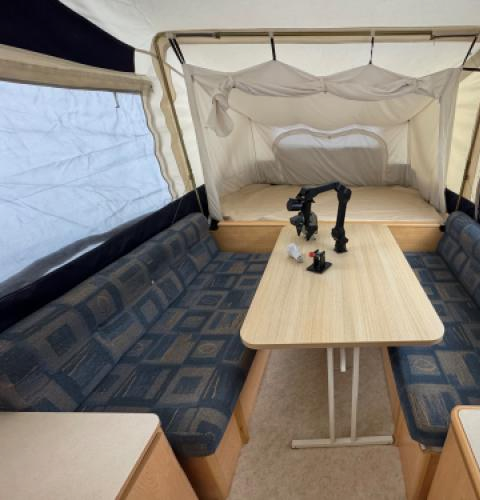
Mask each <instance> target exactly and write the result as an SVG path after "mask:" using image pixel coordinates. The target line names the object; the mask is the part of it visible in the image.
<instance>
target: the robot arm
mask: <svg viewBox="0 0 480 500" xmlns="http://www.w3.org/2000/svg"><path fill="white" fill-rule="evenodd" d="M330 191H334V192H336V199H337V201H338V204H337V210H336V211H337V212H336V219H335V225H334V227H332V228H331V233H330V235H331V238H332V239H333V241H334V248H333V250H334V251H335V252H336V253H338V254H342V253H346V252H348V250H347V244H348V243H349V240H350V239H349V238H348V237H347V236H346V229H345V219H346V213H347V208H348V207H347V206H348V203H349V201H350V200H351V198H352V194H353V193H352V190H351V189H350V188H349V187H347V186H345V185H344V184H342V183H341V182H340V181H338V180H334V179H333V180H331V181H328V182H324V183H320V184H317V185H304V186H302V187H301V188H300V190H299V192H298V193H297V194H296V196H295V197H289V198H288V200H287V202H286V204H285V205H286V210H287V211H288V212H297V214H296V215H293V216H291V217H289V218H288V220H289V223H290V225H292V226H294V227H295V230H296V234H297V237H300V236H301V233H302V232H301V231H302V228H303V225H304V226H305V231H306V235H305V236H306V238H305V241H306V242H309V241H310V239H311V238H312V237H313V236H312V235H313V233H314V232H315V231H317V230H318V231H319V225H318V226H317V225H316V224H314V223H313V224H309V223H311V221H310V216H312V213H311V211H312V205H313V204H316V201H315V200H314V198H316V197H317V196H318V195H320V194H323V193H327V192H330Z"/></svg>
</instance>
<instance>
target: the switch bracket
mask: <svg viewBox="0 0 480 500" xmlns="http://www.w3.org/2000/svg"><path fill="white" fill-rule="evenodd" d="M313 252H314V253H317V252H321V253H320V257H317V256H314V257H312V259H313V263H311V264H310V265H308V266H307V267H306V271H309V272H313V273H315V274H320V275H322V274H323V273H324V272H325V271H326V270H328V269H329V268H331V266H332V264H333V263H332V262H330V261H326V250H322V251H320V249H319V248H317V249H315V250H314V251H313Z"/></svg>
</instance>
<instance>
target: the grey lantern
mask: <svg viewBox="0 0 480 500" xmlns="http://www.w3.org/2000/svg"><path fill="white" fill-rule="evenodd" d="M311 213H312V216H310V221H311V223H309V224H313V223H314V224H316V225H317V226H318V227H319V222H318V221H319V220H318V216H317V214H316V212H314V211H313V210H311ZM318 232H319V229H318V230H317V231H315V232H314V233H313V235H312V236H311V237H312V238H313V240H314V241H316V240H317V238H316V237H315V236H314V235H318V234H319V233H318ZM301 233H302V235H304V238H305V239H306V231H305V226H304V225H303V228H302V231H301Z"/></svg>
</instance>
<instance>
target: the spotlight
mask: <svg viewBox="0 0 480 500" xmlns="http://www.w3.org/2000/svg"><path fill="white" fill-rule="evenodd" d="M285 253H286V254H287V256H288V257H290V258H293V259H294V260H295V262H297V263H302V262H303V261H304V259H305V256H304V255H303V254H302V252H301V247H300V246H299V245H298V244H297V243H294V242H293V243H289V244H288V245H287V247H286V248H285Z"/></svg>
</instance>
